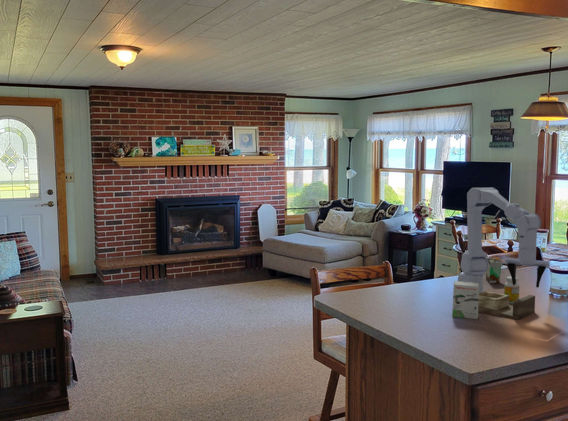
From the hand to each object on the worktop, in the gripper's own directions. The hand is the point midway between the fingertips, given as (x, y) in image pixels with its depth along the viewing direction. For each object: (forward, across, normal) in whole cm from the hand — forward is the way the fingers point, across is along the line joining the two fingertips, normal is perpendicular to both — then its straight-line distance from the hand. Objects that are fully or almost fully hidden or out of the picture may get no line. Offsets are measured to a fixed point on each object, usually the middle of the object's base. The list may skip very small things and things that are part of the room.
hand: (525, 285), depth 196 cm
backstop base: (+10, -8, -1) cm, 13 cm away
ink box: (+10, -18, -15) cm, 25 cm away
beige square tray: (+9, -11, 0) cm, 15 cm away
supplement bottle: (+10, -6, +14) cm, 19 cm away
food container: (+10, -18, +47) cm, 52 cm away
